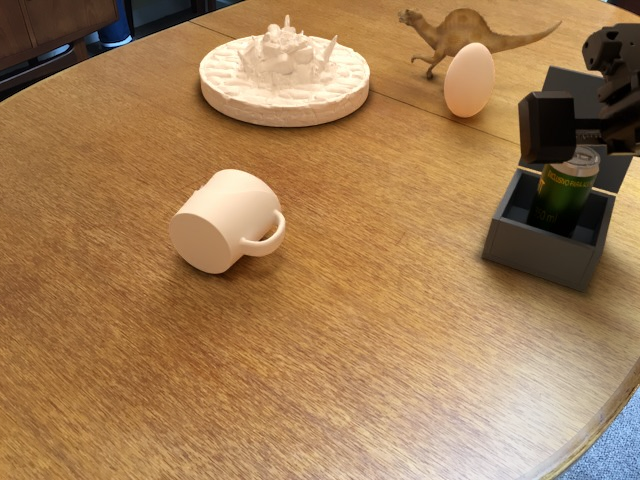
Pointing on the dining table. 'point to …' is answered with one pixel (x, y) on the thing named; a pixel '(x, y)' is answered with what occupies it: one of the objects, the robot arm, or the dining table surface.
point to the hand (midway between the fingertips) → (576, 148)
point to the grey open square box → (547, 236)
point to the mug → (227, 222)
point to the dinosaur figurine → (463, 34)
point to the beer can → (564, 193)
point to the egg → (469, 80)
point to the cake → (284, 78)
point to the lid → (586, 107)
